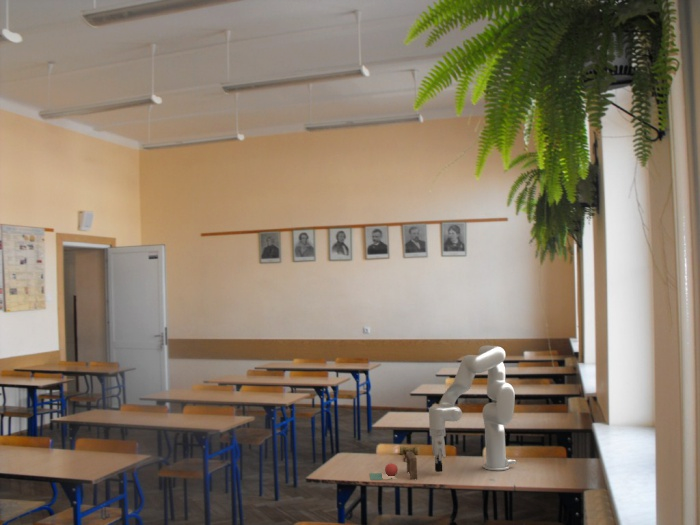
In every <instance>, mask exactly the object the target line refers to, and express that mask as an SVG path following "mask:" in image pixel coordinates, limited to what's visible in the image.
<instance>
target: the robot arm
mask: <svg viewBox="0 0 700 525" xmlns="http://www.w3.org/2000/svg"><path fill="white" fill-rule="evenodd" d="M505 359H506V351H505V350H504V348H502V347H500V346H497V345H487V344H486V345H482V346H481V347H480V348H479V349H478V355H477V354H476V355H475V354H467V355H464V356H463V358H462V360H461V362H460V364H459V366H458V369H457V372H456V374H455V377H454V380H453V382H452V383H451V384H450V385H449V387H448V388H447V389H446V390H445V392H444V393H443V395H442V397H441V400H440V402H439V405H433V406H430V407H429V408H428V420H429V423H428V424H429V437H431V441H432V442H431V446H432V448H431V449H432V455H433V456H434V461H435V463H434V470H435V472H436V473H442V472H443V458H446V456H447V455H446V444H445V437H446V422H454V423H455V422H458V421H459V420H461V418H462V415H463V411H462V409H461V408H460V407H459V406H457V405H455V403H456V401H457V400H458V398H459V397H461V395H463V394H464V393H467V392H468V391H469V390H470V389H471V387H472V384H473V381H474V379H475V376H476V374H481V373H485V372H487V383H486V384H487V385H486V395H487V397H488V398H489V399H491V400H493V401H496V402H488V403H486V404H485V405H484V406H483V408H482V419H483V423H484V425H483V426H484V434H485V435H484V438H485V439H484V442H485V443H484V444H485V462H486V463H484V464H483V465H482V467H483V468H484V470H489V471H506V470H509V469H510V464H511V465H513V464H514V465H515V464H517V462H516V459H511V458H510V459H508V458H507V455H506V454H507V452H506V432H505V426H507V425H509V424H510V423H512V421H513V418H514V413H515V398H516V396H515V395H516V393H515V389H514V387H513V386H512V385H511V383H509V382H506V368H505V364H504V362H505Z"/></svg>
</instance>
